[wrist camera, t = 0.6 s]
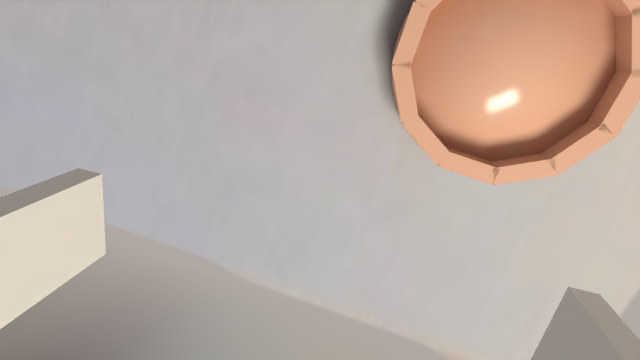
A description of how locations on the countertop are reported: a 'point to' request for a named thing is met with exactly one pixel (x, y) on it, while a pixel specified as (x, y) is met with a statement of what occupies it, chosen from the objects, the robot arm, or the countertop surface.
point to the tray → (516, 82)
